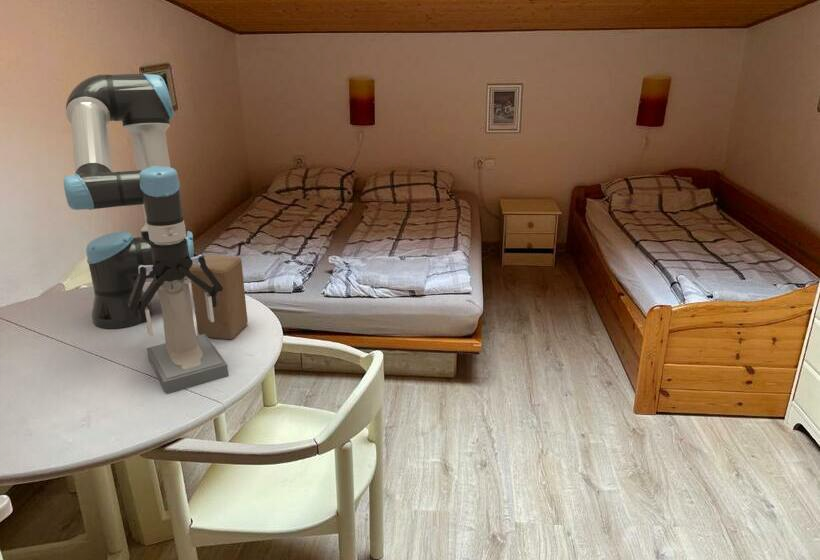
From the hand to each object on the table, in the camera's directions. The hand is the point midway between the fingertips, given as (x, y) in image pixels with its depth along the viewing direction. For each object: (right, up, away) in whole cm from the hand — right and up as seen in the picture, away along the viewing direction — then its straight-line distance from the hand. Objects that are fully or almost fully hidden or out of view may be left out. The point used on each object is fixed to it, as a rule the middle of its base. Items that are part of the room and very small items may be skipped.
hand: (181, 327), depth 136 cm
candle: (0, -7, +3) cm, 8 cm away
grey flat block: (0, -10, +4) cm, 11 cm away
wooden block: (+3, -3, +22) cm, 22 cm away
